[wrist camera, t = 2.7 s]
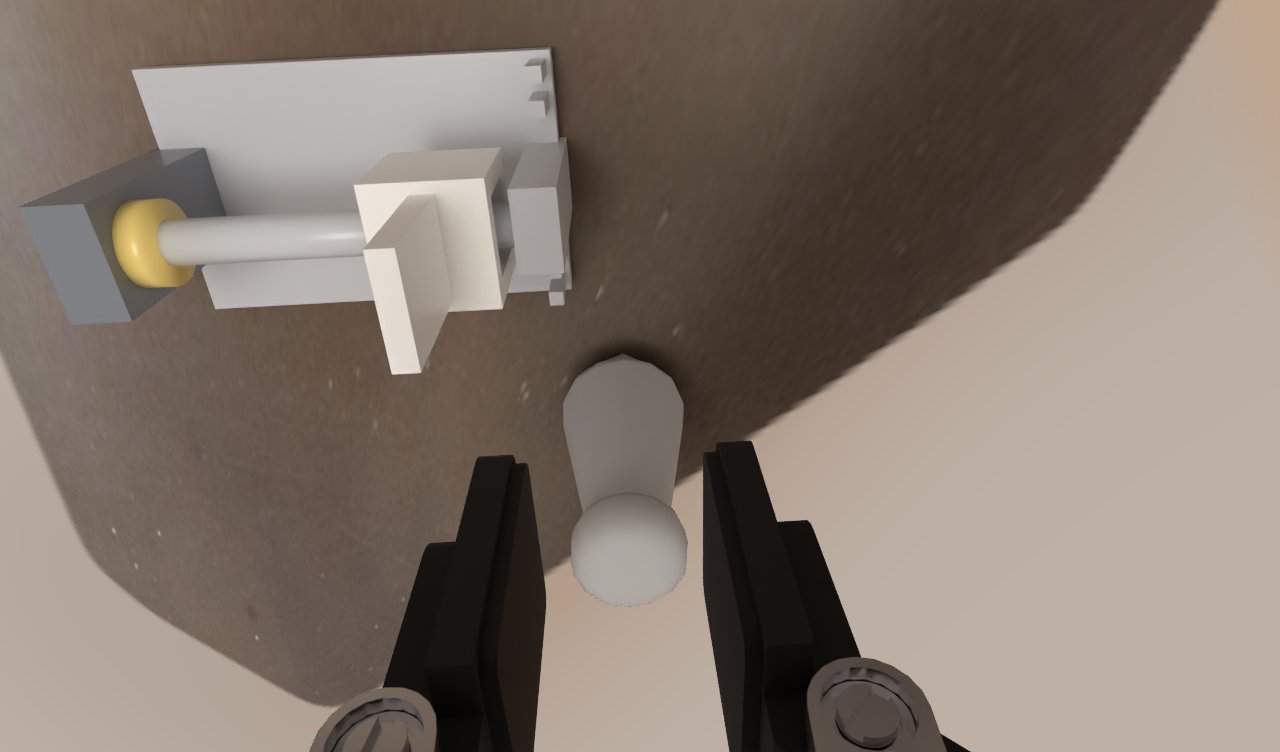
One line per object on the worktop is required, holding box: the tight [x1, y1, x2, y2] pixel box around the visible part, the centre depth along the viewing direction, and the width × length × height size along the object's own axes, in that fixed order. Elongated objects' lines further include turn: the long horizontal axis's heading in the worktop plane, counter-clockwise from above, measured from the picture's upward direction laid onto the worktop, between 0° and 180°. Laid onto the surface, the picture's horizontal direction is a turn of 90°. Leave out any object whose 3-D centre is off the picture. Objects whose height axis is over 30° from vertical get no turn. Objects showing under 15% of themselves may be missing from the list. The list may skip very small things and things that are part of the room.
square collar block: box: [353, 147, 516, 375], centre depth 24 cm, size 4×4×9 cm
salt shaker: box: [563, 353, 688, 607], centre depth 32 cm, size 6×6×13 cm
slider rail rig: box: [18, 47, 572, 325], centre depth 28 cm, size 16×10×9 cm, turn 92°
